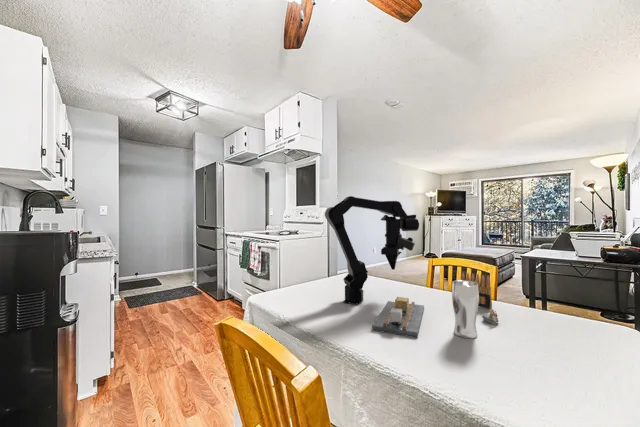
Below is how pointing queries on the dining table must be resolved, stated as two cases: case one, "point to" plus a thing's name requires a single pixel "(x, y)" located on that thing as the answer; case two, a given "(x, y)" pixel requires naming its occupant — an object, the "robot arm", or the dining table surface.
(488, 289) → the ammunition clip
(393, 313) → the fixed leg
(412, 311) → the bolt plate
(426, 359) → the dining table surface
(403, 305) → the tan wooden block
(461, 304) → the beer glass
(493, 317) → the figurine
